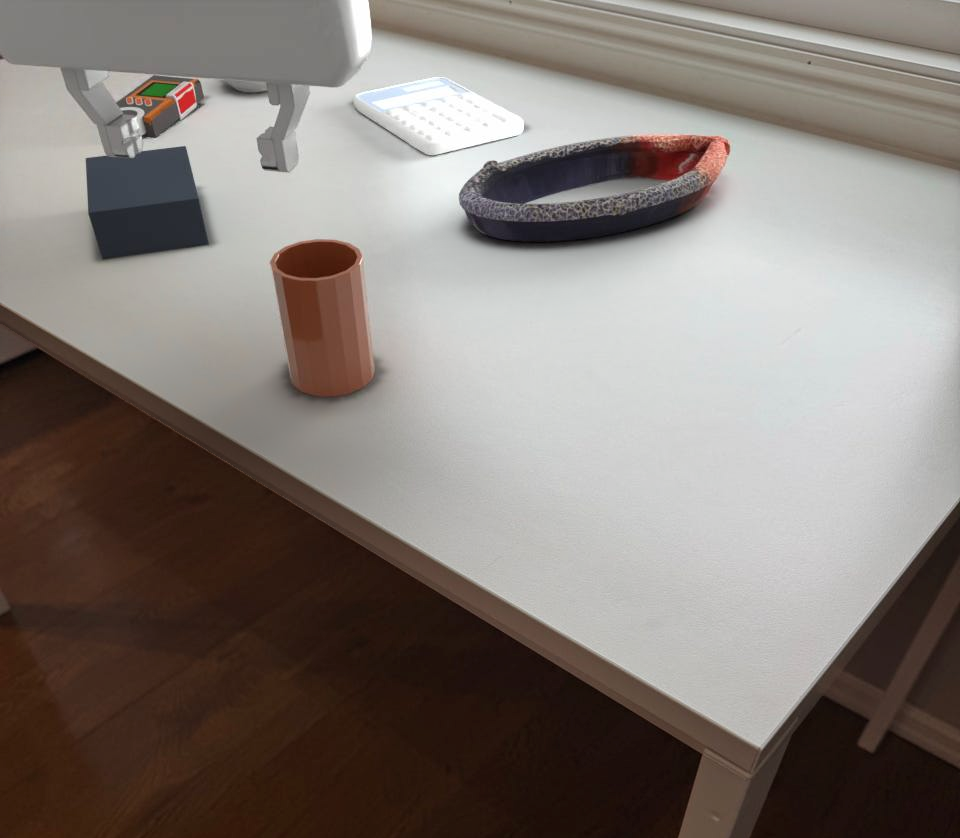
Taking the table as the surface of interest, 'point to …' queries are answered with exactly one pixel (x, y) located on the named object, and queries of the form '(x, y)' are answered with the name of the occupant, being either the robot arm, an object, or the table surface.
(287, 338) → the terracotta cup
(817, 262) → the table surface
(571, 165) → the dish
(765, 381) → the table surface
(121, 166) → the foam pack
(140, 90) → the electronic device
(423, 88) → the calculator
